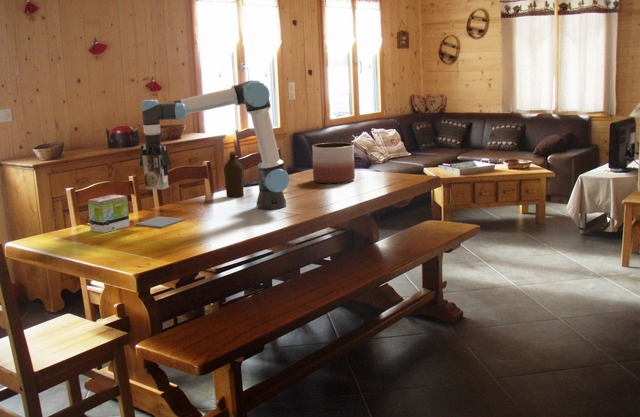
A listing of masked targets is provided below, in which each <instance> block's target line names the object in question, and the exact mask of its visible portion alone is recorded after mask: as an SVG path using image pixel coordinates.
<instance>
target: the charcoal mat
mask: <svg viewBox="0 0 640 417" xmlns="http://www.w3.org/2000/svg"><path fill="white" fill-rule="evenodd" d="M185 220H186V219H185V218H181V217H180V218H179V217H168V216H156V217H155V216H154V217H152V218H150V219H149V218H148V219H147V220H144V221H141V222H140V221H139V222H137V223H135V226H136V227H137V226H138V227H147V228H155V229H164V228H167V227H170V226H173V225H176V224H179V223H183V222H184V221H185Z"/></svg>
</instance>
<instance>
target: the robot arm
mask: <svg viewBox="0 0 640 417" xmlns="http://www.w3.org/2000/svg"><path fill="white" fill-rule="evenodd" d="M267 86H268V85H266V84H265V83H264V82H262V81H260V80H247V81H245V82H242V83H239V84H236V85H231V87H230V88H226V89H223V90H219V91H214V92H209V93H205V94H204V93H203V94H199V95H195V96H190V97H185V98H181V99H177V100H173V101H172V100H170V101H166V103H165V102H164V103H159V101H158V99H145V100H142V101H141V114H142V125H143V134H144V135H143V136H144V138H143V139H144V143H145V144H143V145H140V158H139V166H140V167H142V168H143V169H144V167H143V158H142V155H149V154H155V155H160V154H162V156H163V157H162V158H161V165H162V167H163V168H162V169H161V170H162V182H163V183H166V182H168V183H169V178H168V179H167V175H168V176H169V171H168V170H169V168H171V167H172V164H171V161H170V157H169V153H168V147H167V145H162V144H161V142H162V135H161V122H160V121H172V120H173V121H175V120H178V121H179V120H184V119H186V118H187V116H186V115H190V114H195V113H199V112H204V111H209V110H213V109H217V108H222V107H226V106H232V105H235V106H241V105H244V106H245V109H246V112H247V114H249V115H250V116H251V121H252V124H253V129H254V134H255V137H256V141H257V146H258V149H259V154H260V157H261V158H260V159H261V162H259V163H258V164H257V171H258V172H257V174H258V176H257V177H258V181H259V185H258V192H259V193H258V196H257V200H256V208H257V209H259V210H276V209H277V210H278V209H283V208H285V207H287V201H286V198H285V196H284V192H283V191H285V190H286V189H287V188H288V186H289V184H290V176H289V174H288V172H287V169H286V166H285V161H284V160H282V159H281V158H280V154H279V149H278V146H277V141H276V137H275V132H274V130H273V124H272V119H271V117H270V111H269V110H270V108H271V101H270V90H269V88H268V87H267Z"/></svg>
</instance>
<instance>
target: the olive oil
mask: <svg viewBox="0 0 640 417" xmlns="http://www.w3.org/2000/svg"><path fill="white" fill-rule="evenodd" d="M228 155H229V159H228V160H227V162H226V163H225V165H224V167H223V174H224V182H225V186H226V188H225V192H226V194H225V195H226V197H227V198H230V199H236V198H242V197H244V193H245V192H244V191H245V190H244V188H243V183H244V167H243V164H242V163H241V162H240V161H239V160H238V159H237V153H236V151H235V150H234V151H229V154H228Z"/></svg>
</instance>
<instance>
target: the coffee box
mask: <svg viewBox="0 0 640 417" xmlns="http://www.w3.org/2000/svg"><path fill="white" fill-rule="evenodd" d="M162 157H163V156H162V154H160V155H155V154H149V155H142V158H143V167H144V168H143V167H142V168H143V173H144V174H143V175H144V183H145V184H144V185H145V190H165V189H168V188H169V187H170V186H169V181H168V182H166V183H163V182H162V170H161V169H162V168H163V167H162V165H161V158H162ZM167 179H168V180H169V174H168V175H167Z"/></svg>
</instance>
